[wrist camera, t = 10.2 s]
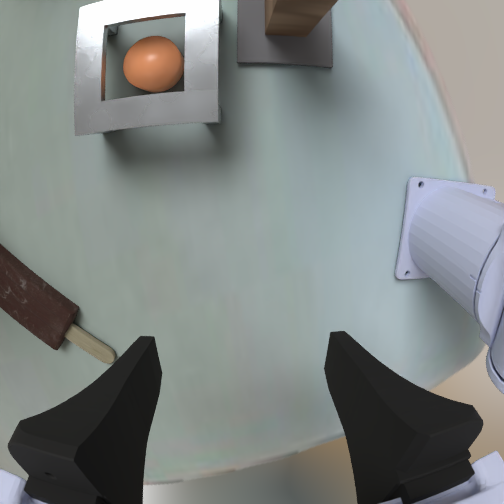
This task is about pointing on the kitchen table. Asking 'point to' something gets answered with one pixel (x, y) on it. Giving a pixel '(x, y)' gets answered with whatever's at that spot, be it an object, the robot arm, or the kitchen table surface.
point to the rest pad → (280, 40)
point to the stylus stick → (294, 16)
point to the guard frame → (153, 105)
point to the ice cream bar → (43, 308)
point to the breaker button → (153, 64)
